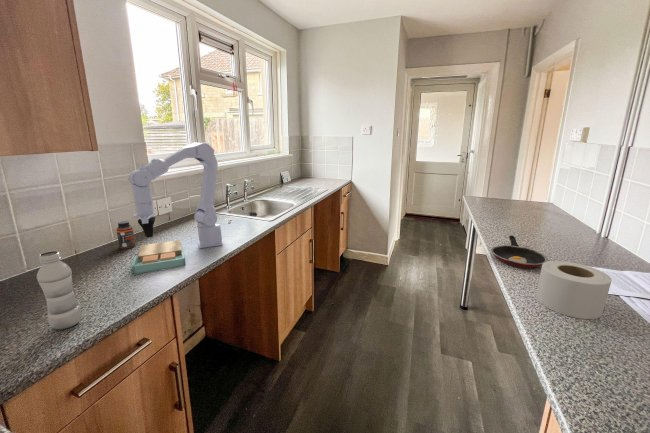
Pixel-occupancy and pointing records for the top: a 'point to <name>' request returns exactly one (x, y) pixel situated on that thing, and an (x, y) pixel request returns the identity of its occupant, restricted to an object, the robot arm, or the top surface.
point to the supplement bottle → (125, 235)
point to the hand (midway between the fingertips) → (149, 236)
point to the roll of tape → (573, 289)
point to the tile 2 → (168, 256)
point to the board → (160, 249)
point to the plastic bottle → (58, 291)
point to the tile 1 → (150, 259)
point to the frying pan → (518, 255)
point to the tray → (157, 264)
